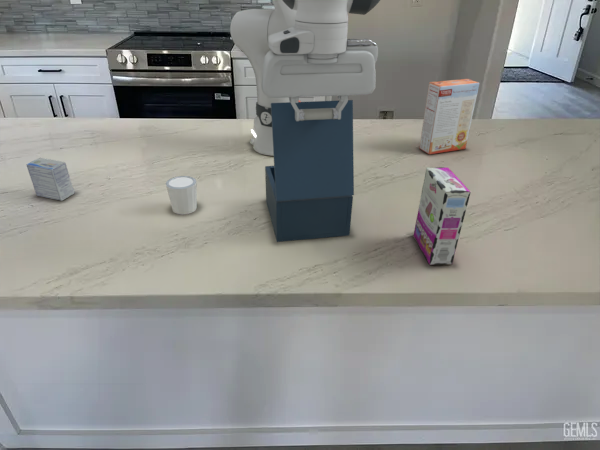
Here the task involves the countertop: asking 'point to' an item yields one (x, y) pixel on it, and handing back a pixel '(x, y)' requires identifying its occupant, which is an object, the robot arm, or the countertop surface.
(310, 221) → the dark blue open box
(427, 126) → the cracker box
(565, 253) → the countertop surface
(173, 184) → the shot glass
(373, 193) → the countertop surface
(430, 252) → the candy bar box
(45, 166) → the medicine box
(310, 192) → the lid
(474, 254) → the countertop surface
